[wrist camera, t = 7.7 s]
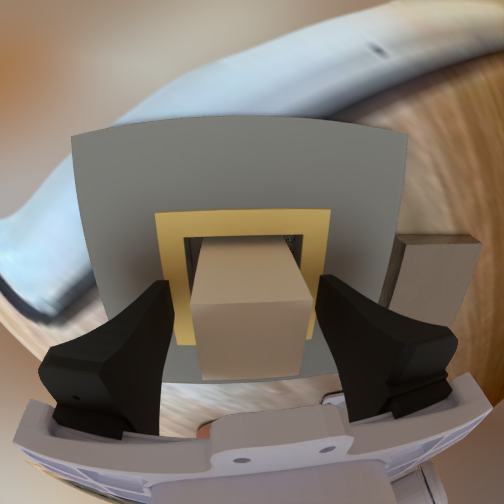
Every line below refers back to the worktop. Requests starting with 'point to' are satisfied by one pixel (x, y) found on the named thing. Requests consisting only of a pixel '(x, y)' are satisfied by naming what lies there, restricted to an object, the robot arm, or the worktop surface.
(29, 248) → the worktop surface
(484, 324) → the worktop surface
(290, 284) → the peg
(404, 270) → the tab
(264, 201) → the hole board
